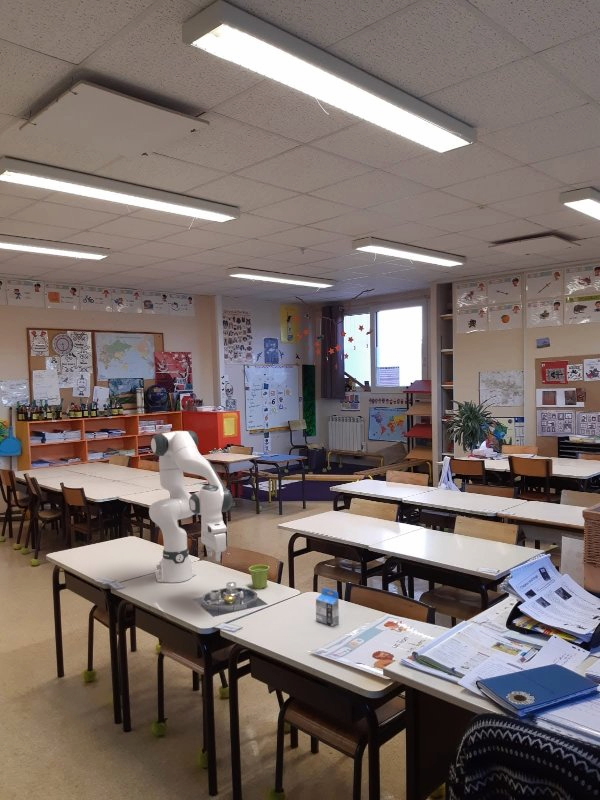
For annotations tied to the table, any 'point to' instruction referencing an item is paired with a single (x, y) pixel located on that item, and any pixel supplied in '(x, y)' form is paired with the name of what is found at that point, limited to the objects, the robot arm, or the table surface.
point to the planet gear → (215, 598)
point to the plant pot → (259, 575)
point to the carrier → (231, 600)
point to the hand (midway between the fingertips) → (213, 558)
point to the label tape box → (327, 607)
